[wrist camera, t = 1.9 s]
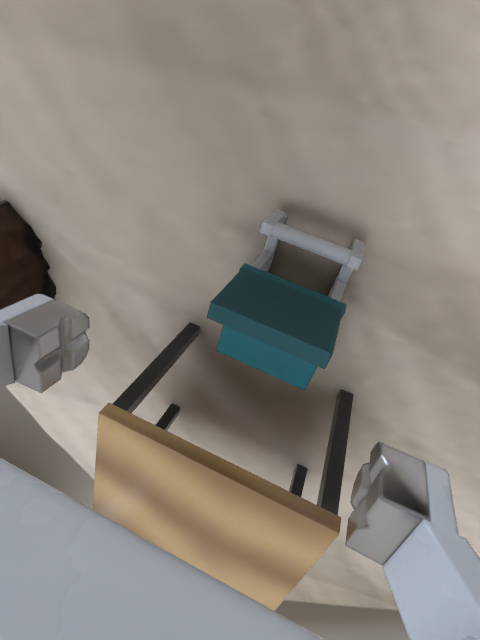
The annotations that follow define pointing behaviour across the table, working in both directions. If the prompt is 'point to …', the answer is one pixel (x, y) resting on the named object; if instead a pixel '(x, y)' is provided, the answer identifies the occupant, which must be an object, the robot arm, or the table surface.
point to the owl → (20, 260)
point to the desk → (213, 495)
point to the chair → (283, 308)
